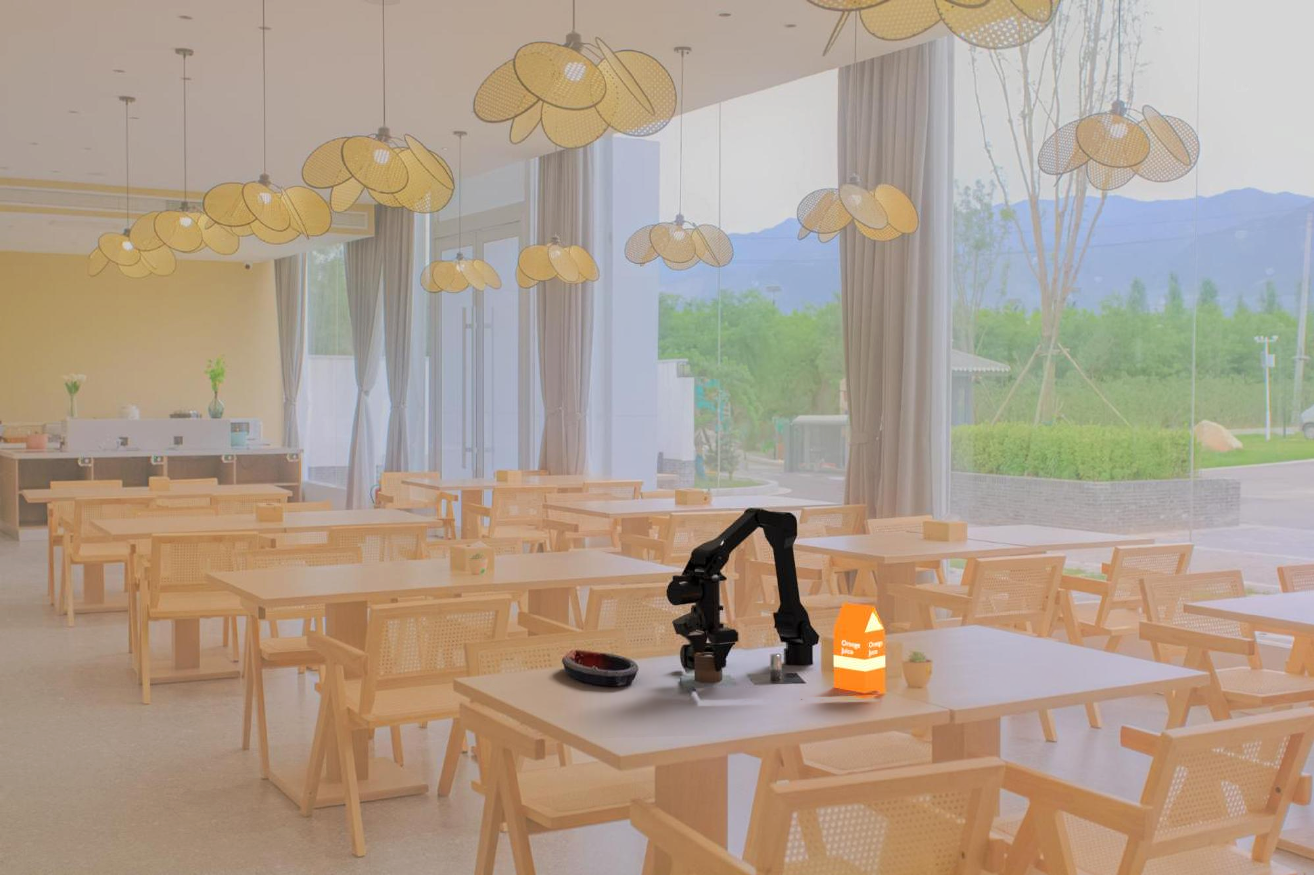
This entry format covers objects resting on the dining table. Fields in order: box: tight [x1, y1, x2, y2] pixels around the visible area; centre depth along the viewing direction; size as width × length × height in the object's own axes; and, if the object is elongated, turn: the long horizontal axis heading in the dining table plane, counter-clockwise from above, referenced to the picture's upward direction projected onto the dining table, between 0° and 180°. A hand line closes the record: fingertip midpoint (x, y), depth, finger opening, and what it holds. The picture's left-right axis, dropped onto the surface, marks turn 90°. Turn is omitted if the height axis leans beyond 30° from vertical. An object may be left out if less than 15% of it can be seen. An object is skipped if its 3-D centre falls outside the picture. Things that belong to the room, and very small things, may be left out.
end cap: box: [679, 642, 727, 672], centre depth 309 cm, size 10×7×7 cm
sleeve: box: [693, 652, 723, 683], centre depth 291 cm, size 6×6×7 cm
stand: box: [746, 653, 807, 686], centre depth 292 cm, size 12×12×7 cm
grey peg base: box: [679, 655, 738, 692], centre depth 291 cm, size 12×12×7 cm
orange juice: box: [833, 602, 886, 699], centre depth 282 cm, size 8×9×20 cm
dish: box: [561, 649, 639, 687], centre depth 302 cm, size 16×31×5 cm, turn 24°
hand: (708, 667), depth 291 cm, fingers open, 9 cm apart
